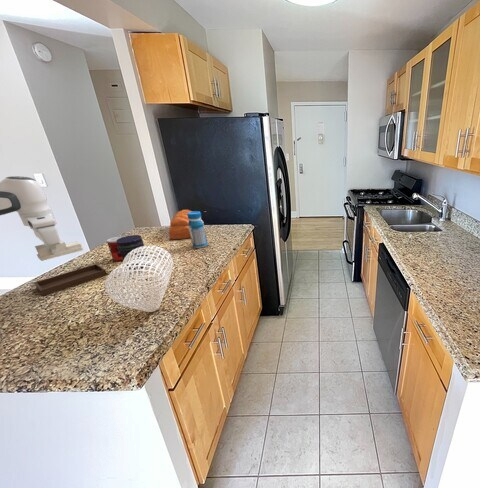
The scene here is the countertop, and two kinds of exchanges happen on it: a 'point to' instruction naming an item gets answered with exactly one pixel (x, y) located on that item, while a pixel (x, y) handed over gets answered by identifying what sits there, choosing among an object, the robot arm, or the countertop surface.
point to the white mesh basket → (140, 261)
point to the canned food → (114, 249)
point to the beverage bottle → (197, 229)
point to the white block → (62, 249)
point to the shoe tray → (69, 279)
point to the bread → (180, 225)
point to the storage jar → (130, 247)
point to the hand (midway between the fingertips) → (52, 250)
